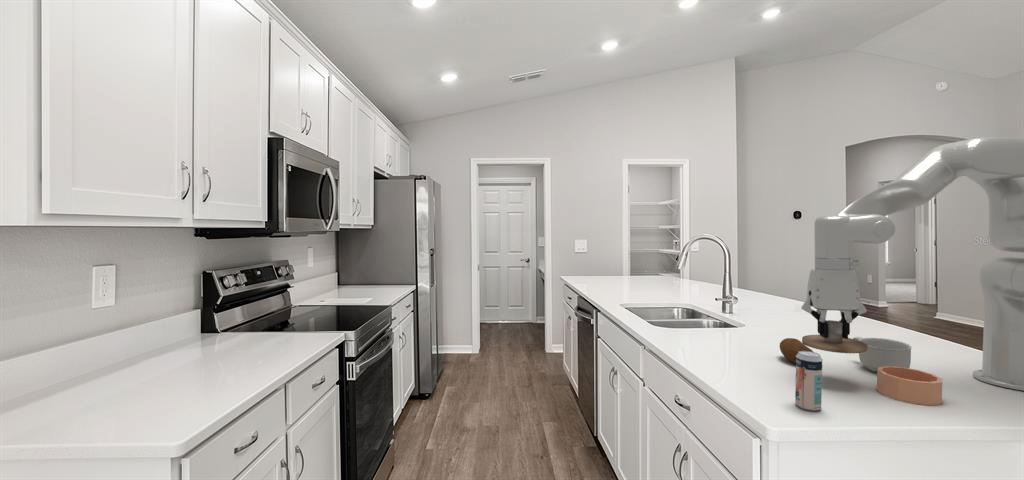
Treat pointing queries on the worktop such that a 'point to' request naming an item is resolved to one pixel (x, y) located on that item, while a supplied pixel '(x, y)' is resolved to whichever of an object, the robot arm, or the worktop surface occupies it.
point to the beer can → (808, 380)
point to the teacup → (884, 353)
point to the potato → (792, 348)
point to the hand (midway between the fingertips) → (833, 336)
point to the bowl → (909, 385)
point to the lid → (834, 340)
